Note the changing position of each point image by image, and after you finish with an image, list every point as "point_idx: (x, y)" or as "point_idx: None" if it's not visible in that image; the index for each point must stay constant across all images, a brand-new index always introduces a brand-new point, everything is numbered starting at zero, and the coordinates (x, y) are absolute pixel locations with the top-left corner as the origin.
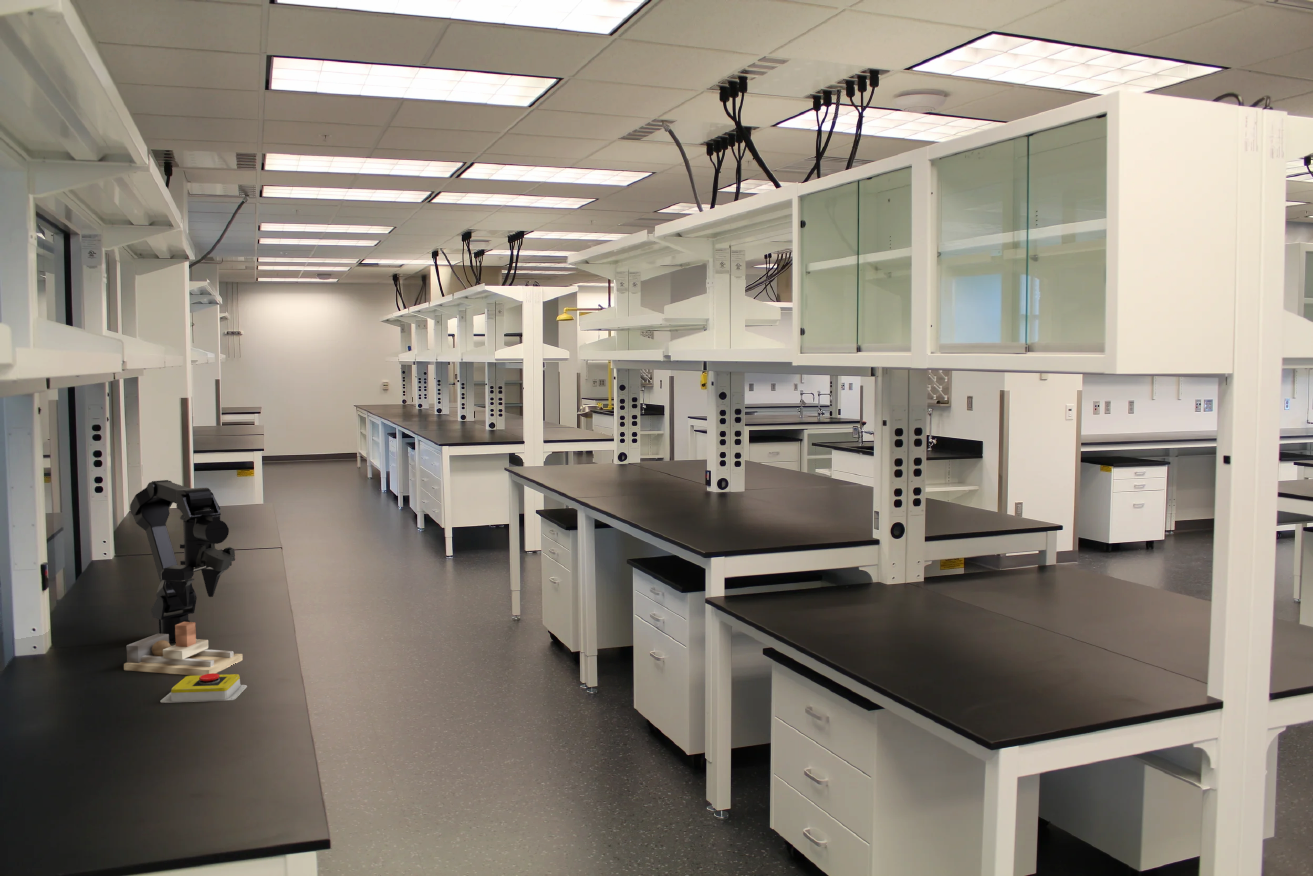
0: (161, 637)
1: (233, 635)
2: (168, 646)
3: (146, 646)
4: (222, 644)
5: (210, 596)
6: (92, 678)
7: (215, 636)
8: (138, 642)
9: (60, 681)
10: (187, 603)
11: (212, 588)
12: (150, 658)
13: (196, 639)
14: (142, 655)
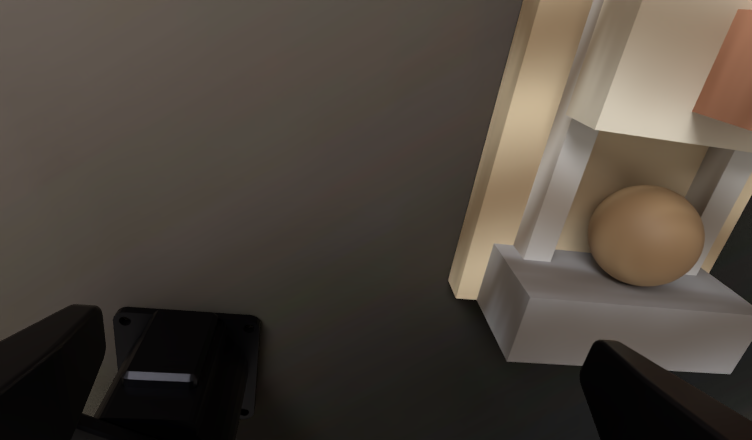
0: (591, 300)
1: (15, 87)
2: (675, 198)
3: (692, 299)
4: (231, 53)
5: (103, 331)
6: None
7: (79, 192)
8: (687, 353)
9: (743, 412)
10: (635, 356)
11: (13, 407)
12: (717, 225)
13: (628, 63)
14: (691, 278)
